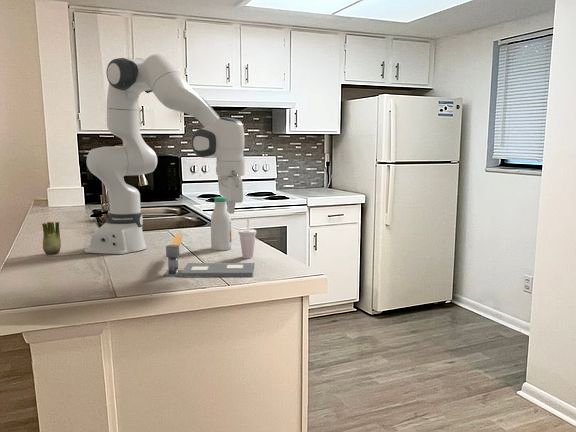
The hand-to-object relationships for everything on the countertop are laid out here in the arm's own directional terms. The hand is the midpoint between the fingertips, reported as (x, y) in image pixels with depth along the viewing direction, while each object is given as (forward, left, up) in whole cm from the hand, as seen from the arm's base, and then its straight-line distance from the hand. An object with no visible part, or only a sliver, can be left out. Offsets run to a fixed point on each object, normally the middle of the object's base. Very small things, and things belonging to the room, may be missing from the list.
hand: (230, 212), depth 162 cm
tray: (-4, -3, -19) cm, 19 cm away
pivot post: (-18, -6, -19) cm, 26 cm away
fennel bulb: (-68, +22, -19) cm, 74 cm away
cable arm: (-19, +4, -13) cm, 23 cm away
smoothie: (+4, +16, -19) cm, 25 cm away
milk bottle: (-7, +30, -19) cm, 36 cm away
